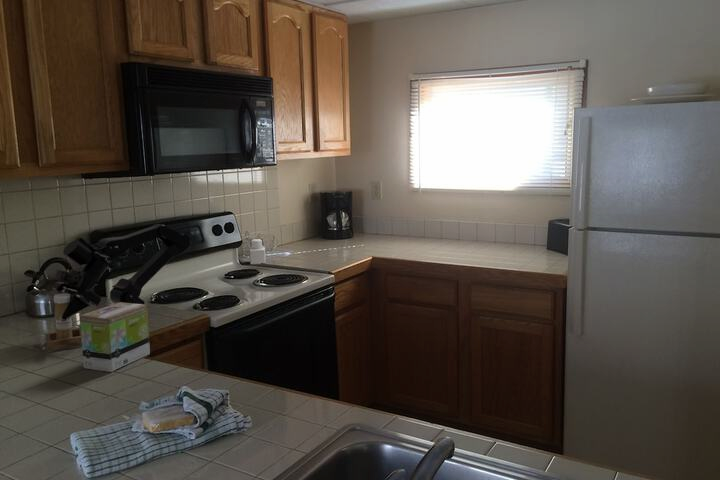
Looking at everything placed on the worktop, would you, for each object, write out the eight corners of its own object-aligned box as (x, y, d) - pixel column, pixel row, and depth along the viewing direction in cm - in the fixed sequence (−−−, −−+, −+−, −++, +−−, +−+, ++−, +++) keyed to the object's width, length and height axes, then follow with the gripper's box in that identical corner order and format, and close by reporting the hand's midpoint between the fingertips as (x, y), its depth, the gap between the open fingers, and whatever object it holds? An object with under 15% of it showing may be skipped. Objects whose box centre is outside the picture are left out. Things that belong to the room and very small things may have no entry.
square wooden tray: (82, 336, 189) (81, 327, 189) (86, 345, 180) (85, 336, 180) (46, 342, 184) (45, 333, 184) (48, 352, 176) (47, 342, 175)
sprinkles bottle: (59, 342, 179) (56, 298, 177) (53, 337, 183) (51, 294, 180) (75, 338, 183) (73, 295, 180) (69, 334, 186) (67, 291, 183)
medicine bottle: (251, 261, 305) (250, 238, 303) (265, 261, 305) (264, 237, 304) (250, 264, 298) (249, 240, 296) (265, 263, 298) (263, 239, 297)
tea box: (113, 373, 158) (108, 317, 155) (82, 369, 161) (77, 315, 159) (151, 354, 172) (147, 303, 169) (123, 350, 175) (118, 300, 173)
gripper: (55, 256, 187) (22, 299, 180) (86, 261, 176) (52, 308, 169) (82, 276, 194) (52, 318, 188) (114, 283, 183) (82, 328, 176)
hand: (58, 317), depth 180 cm, fingers closed on sprinkles bottle, 4 cm apart
